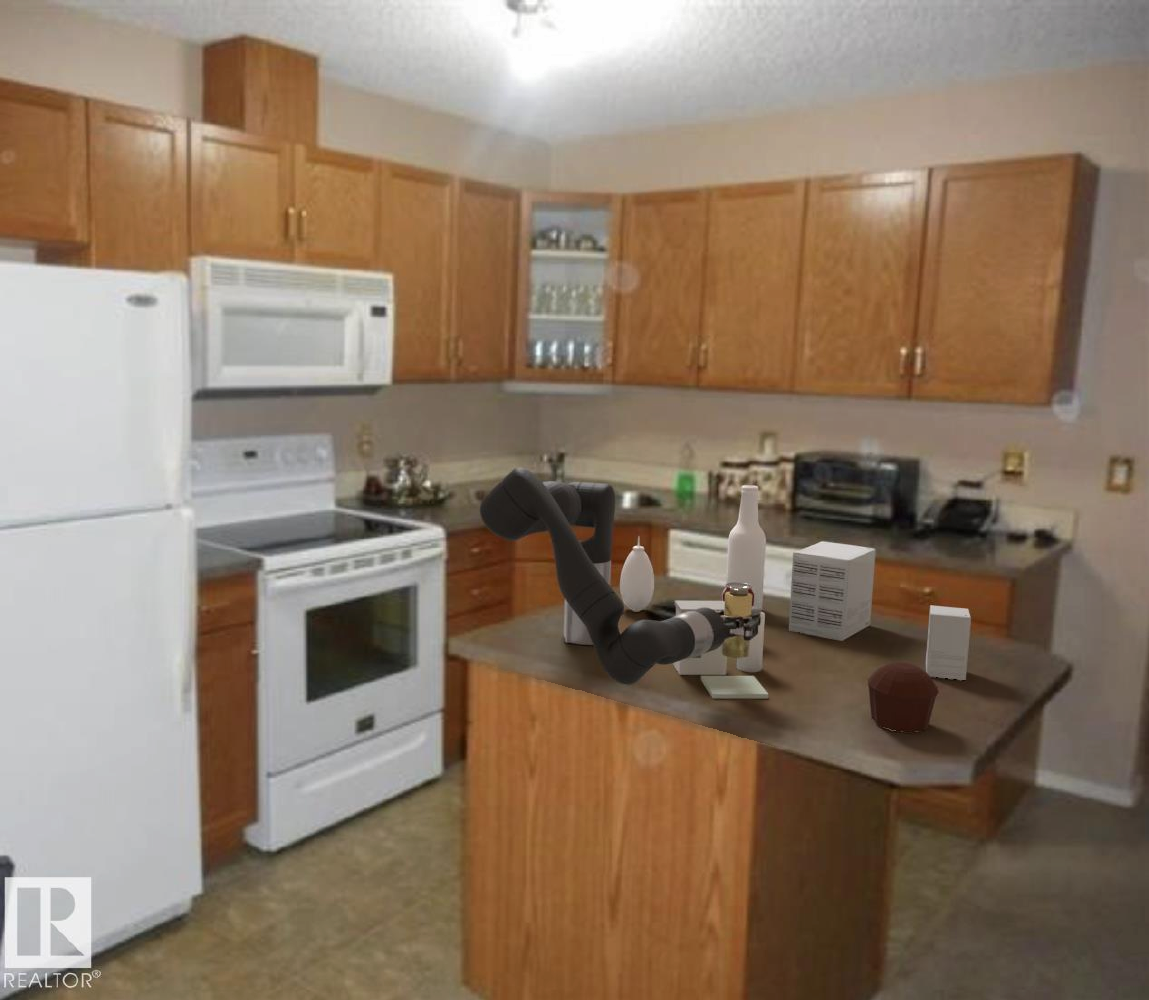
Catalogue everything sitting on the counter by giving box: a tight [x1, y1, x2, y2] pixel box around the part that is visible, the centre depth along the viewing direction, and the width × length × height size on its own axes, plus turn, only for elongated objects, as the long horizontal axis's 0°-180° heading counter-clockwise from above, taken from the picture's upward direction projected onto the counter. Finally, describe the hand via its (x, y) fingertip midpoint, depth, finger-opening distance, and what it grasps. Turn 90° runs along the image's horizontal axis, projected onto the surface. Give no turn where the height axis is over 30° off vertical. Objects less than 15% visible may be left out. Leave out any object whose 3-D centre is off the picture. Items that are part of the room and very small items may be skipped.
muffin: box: [867, 661, 939, 734], centre depth 164 cm, size 12×11×10 cm
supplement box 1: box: [788, 540, 877, 642], centre depth 221 cm, size 17×13×18 cm
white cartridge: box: [736, 606, 766, 673], centre depth 191 cm, size 5×5×12 cm
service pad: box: [700, 675, 769, 699], centre depth 179 cm, size 10×10×1 cm
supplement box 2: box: [925, 604, 972, 681], centre depth 191 cm, size 7×7×13 cm
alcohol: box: [725, 484, 767, 610], centre depth 233 cm, size 9×9×30 cm
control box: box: [673, 599, 728, 676], centre depth 188 cm, size 10×7×13 cm
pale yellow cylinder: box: [722, 587, 752, 659], centre depth 177 cm, size 5×5×12 cm
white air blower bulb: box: [619, 536, 655, 613], centre depth 231 cm, size 8×8×18 cm
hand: (745, 616), depth 179 cm, fingers closed on pale yellow cylinder, 4 cm apart
